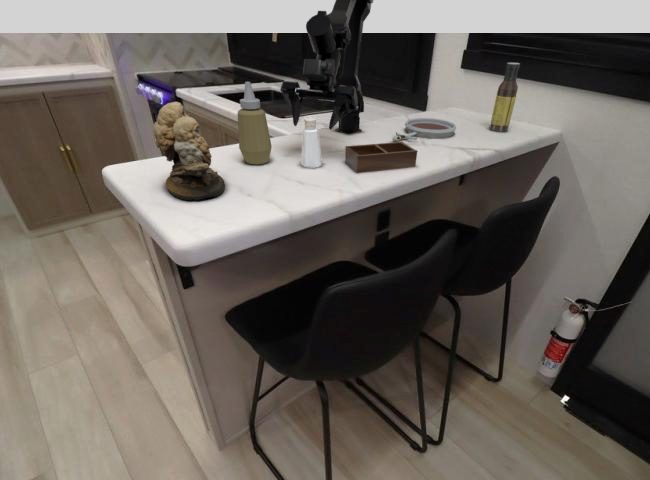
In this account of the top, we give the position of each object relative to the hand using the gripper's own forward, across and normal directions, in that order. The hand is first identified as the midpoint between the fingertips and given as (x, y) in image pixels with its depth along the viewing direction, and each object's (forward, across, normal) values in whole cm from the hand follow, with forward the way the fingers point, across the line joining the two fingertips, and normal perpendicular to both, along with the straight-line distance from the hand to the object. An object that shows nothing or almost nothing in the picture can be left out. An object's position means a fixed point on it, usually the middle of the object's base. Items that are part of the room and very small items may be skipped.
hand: (312, 126), depth 93 cm
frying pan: (-21, +23, +34) cm, 46 cm away
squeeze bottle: (+9, -14, +4) cm, 17 cm away
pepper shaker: (+7, 0, +6) cm, 9 cm away
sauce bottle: (-33, +48, +45) cm, 74 cm away
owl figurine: (+24, -18, -11) cm, 32 cm away
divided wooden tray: (+2, +17, +10) cm, 19 cm away
